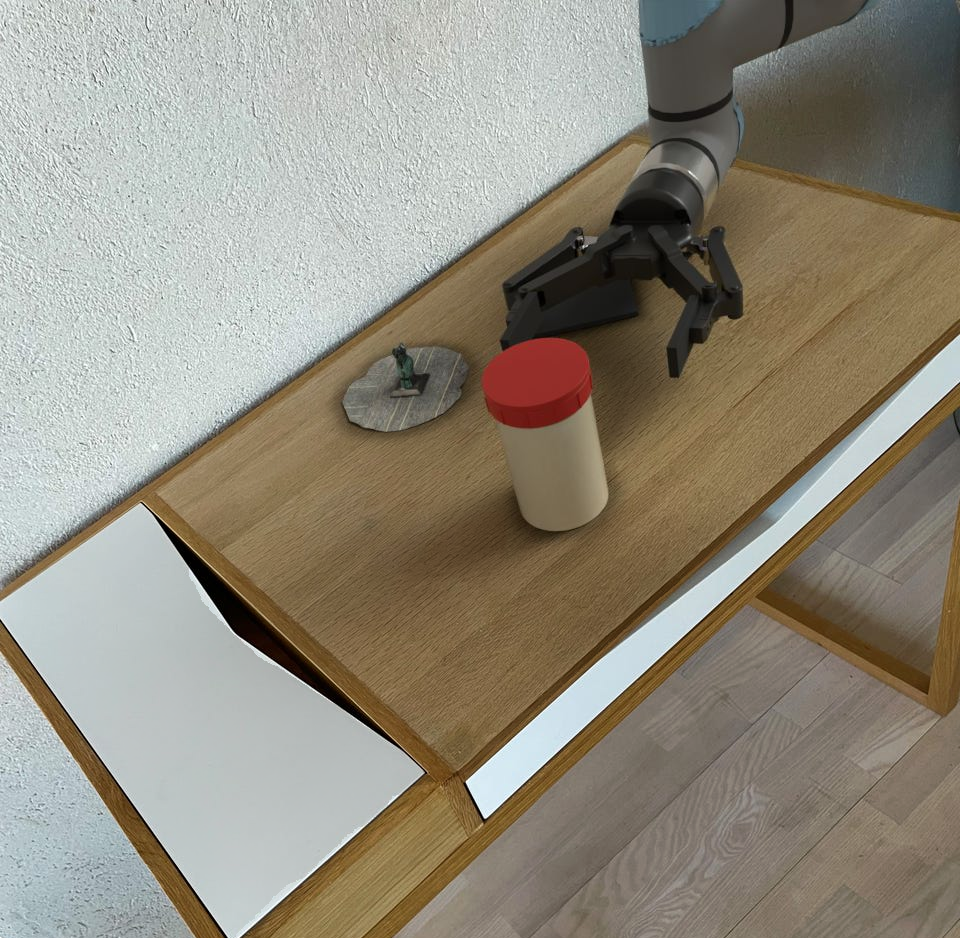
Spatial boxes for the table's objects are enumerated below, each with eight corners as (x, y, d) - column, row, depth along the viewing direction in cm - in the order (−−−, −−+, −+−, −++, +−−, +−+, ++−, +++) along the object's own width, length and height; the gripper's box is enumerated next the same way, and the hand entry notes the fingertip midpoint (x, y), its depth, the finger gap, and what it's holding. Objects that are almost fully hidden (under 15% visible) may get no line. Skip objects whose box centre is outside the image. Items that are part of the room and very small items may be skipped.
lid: (586, 350, 68) (582, 327, 67) (598, 415, 63) (594, 392, 62) (485, 373, 69) (479, 351, 68) (489, 438, 65) (483, 416, 63)
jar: (602, 460, 76) (580, 337, 67) (614, 521, 71) (592, 398, 63) (517, 478, 77) (484, 359, 68) (522, 539, 72) (488, 420, 64)
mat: (623, 258, 93) (623, 254, 93) (638, 315, 87) (637, 310, 86) (523, 282, 95) (522, 278, 94) (530, 340, 88) (529, 335, 88)
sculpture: (448, 335, 93) (451, 304, 85) (480, 423, 93) (487, 400, 85) (331, 375, 92) (323, 347, 84) (364, 464, 92) (359, 445, 84)
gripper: (808, 248, 82) (750, 408, 71) (541, 247, 92) (456, 387, 82) (811, 162, 76) (748, 322, 66) (526, 171, 87) (433, 311, 76)
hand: (586, 359), depth 74 cm, fingers open, 13 cm apart
